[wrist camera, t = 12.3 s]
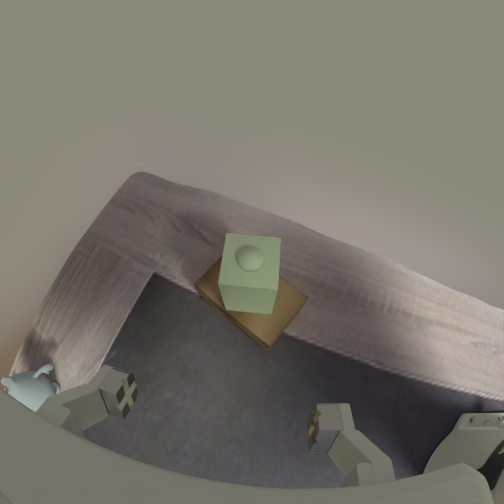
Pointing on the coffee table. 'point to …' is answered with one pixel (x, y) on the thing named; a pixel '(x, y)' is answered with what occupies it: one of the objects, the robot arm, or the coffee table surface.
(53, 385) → the toy figure
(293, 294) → the base brick
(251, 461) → the coffee table surface
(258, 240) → the green brick
